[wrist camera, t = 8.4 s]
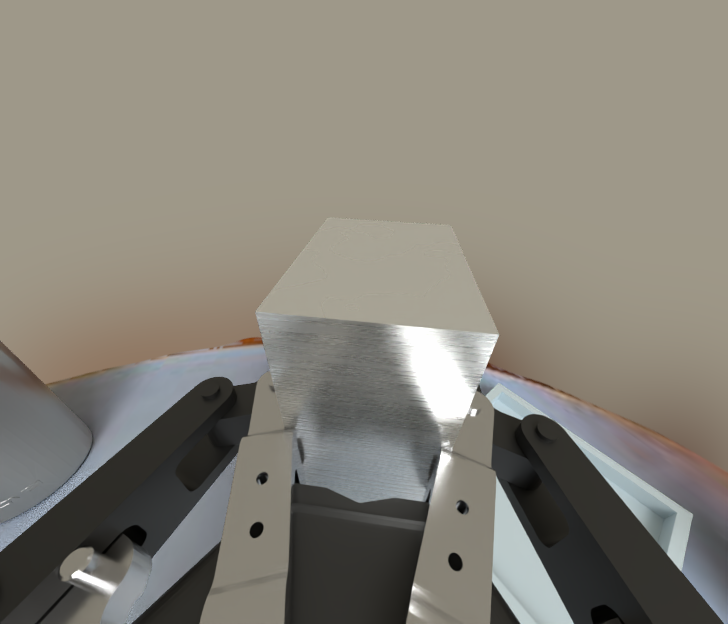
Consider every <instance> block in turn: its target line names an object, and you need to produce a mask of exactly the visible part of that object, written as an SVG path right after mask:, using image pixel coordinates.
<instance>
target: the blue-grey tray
mask: <svg viewBox="0 0 728 624" xmlns="http://www.w3.org/2000/svg"><path fill="white" fill-rule="evenodd" d="M486 397H487V398H488V399H489V400H490V402H491V403H492V405H493V407H494V408H495V409H497V410H498V411H500V412H502V413H505V414H507V415H510V416H513V417H515V418H518V419H520V420H522V419H523V418H524V417H525V416H527V415H530V414H539V415H543V416H546V417H548V416H547V415H545V414H544V413H542V412H541V411H539V410H538V409H537V408H535V407H534V406H532V405H531V404H529V403H528V402H526V401H525V400H523V399H522V398H520V397H519V396H517V395H516V394H514V393H513V392H511V391H510V390H508V389H507V388H506V387H504V386H503V385H501V384H500V383H498V384H497V385H496V386H495V387H494V388H493V389H492V390H491V391H490V392H489V393H488V394H487V395H486ZM548 418H550V417H548ZM550 419H551V418H550ZM552 420H553V419H552ZM555 422H556V421H555ZM558 424H559V423H558ZM559 425H560V424H559ZM560 426H561V427H562V428H563V429H564V430H565V431H566V432H567V433H568V435H569V436H570V437H571V438H572V439H573V441H574V442H575V443H576V444H577V445H578V447H579V448H580V449H581V450H582V452H583V453H584V454H585V455H586V456H587V458H588V459H589V460H590V461H591V463H592V464H593V465H594V466H595V467H596V469H597V470H598V471H599V472H600V473H601V475H602V476H603V477H604V478H605V480H606V481H607V482H608V483H609V484H610V486H611V487H612V488H613V489H614V490H615V492H616V493H617V494H618V495H619V497H620V498H621V499H622V500H623V501H624V503H625V504H626V505H627V506H628V508H629V509H630V510H631V511H632V512H633V514H634V515H635V516H636V517H637V518H638V520H639V521H640V522H641V523H642V525H643V526H644V527H645V528H646V529H647V531H648V532H649V533H650V534H651V535H652V537H653V538H654V539H655V540H656V542H657V543H658V544H659V545H660V546H661V548H662V549H663V550H664V551H665V553H666V554H667V555H668V556H669V557H670V559H671V560H672V561H673V562H674V563H675V565H676V566H677V567H678V568H679V570H680V571H682V566H683V561H684V556H685V551H686V546H687V541H688V537H689V532H690V527H691V522H692V517H693V514H692V513H690V512H689V511H687V510H686V509H684V508H683V507H681V506H680V505H678V504H677V503H675V502H674V501H672V500H671V499H669V498H668V497H666V496H665V495H664V494H662V493H661V492H659V491H658V490H656V489H655V488H653V487H652V486H650V485H649V484H647V483H646V482H644V481H643V480H641V479H640V478H638V477H637V476H635V475H634V474H633V473H631V472H630V471H628V470H627V469H625V468H624V467H622V466H621V465H619V464H618V463H616V462H615V461H613V460H612V459H610V458H609V457H607V456H606V455H604V454H603V453H601V452H600V451H599V450H597V449H596V448H594V447H593V446H591V445H590V444H588V443H587V442H585V441H584V440H582V439H581V438H579V437H578V436H576V435H575V434H573V433H572V432H570V431H569V430H568V429H566V428H565V427H563V426H562V425H560ZM492 582H493V583H494V585H495V586H496V588H497V589H498V591H499V592H500V594H501V595H502V597H503V598H504V600H505V601H506V603H507V604H508V606H509V607H510V609H511V610H512V612H513V613H514V615H515V616H516V618H517V619H518V621H519V622H520V624H574V623H573V621H572V619H571V617H570V615H569V614H568V612H567V610H566V608H565V606H564V604H563V602H562V600H561V598H560V596H559V595H558V593H557V591H556V589H555V587H554V585H553V583H552V581H551V579H550V577H549V576H548V574H547V572H546V570H545V568H544V566H543V564H542V562H541V560H540V558H539V557H538V555H537V553H536V551H535V549H534V547H533V545H532V543H531V541H530V539H529V538H528V536H527V534H526V532H525V530H524V528H523V526H522V524H521V522H520V521H519V519H518V517H517V515H516V513H515V511H514V509H513V507H512V505H511V503H510V502H509V500H508V498H507V496H506V494H505V492H504V490H503V488H502V486H501V484H500V483H499V481H498V479H497V477H496V499H495V522H494V545H493V568H492Z"/></svg>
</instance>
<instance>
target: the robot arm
mask: <svg viewBox="0 0 728 624" xmlns="http://www.w3.org/2000/svg"><path fill="white" fill-rule="evenodd" d="M91 444H92V433H91V431H90V429H89V427H88V426H87V425H86V424H85V423H84V422H83V421H82V420H81V419H79V418H78V417H77V416H76V415H75V414H74V413H73V412H72V411H71V410H70V409H69V408H68V407H67V406H66V405H65V404H64V403H63V402H62V401H61V400H60V399H59V398H58V397H57V396H56V395H55V394H54V393H53V392H52V391H51V390H50V389H49V388H48V387H47V386H46V385H45V384H44V383H43V382H42V381H41V380H40V379H39V378H38V377H37V376H36V375H35V374H34V373H33V372H32V371H31V370H30V369H29V368H28V367H27V366H26V365H25V364H24V363H23V362H22V361H21V360H20V359H19V358H18V357H17V356H15V355H14V354H13V353H12V352H11V351H10V350H9V349H8V348H7V347H6V346H5V345H4V344H3V343H2V342H1V341H0V523H3V522H5V521H7V520H9V519H12V518H14V517H16V516H18V515H20V514H22V513H23V512H25V511H27V510H29V509H30V508H32V507H34V506H36V505H37V504H38V503H40V502H41V501H43V500H44V499H45V498H47V497H48V496H50V495H51V494H52V493H53V492H55V491H56V490H57V489H58V488H59V487H60V486H62V485H63V484H64V483H65V482H66V481H67V480H68V479H69V478H70V477H71V476H72V475H73V474H74V473H75V472H76V470H77V469H78V468H79V466H80V465H81V464H82V462H83V461H84V460H85V458H86V456H87V454H88V452H89V450H90V447H91ZM237 453H238V456H237V461H236V466H235V472H234V477H233V482H232V487H231V493H230V498H229V503H228V508H227V514H226V519H225V524H224V529H223V534H222V540H221V541H220V542H219V543H218V544H217V545H216V546H215V547H214V548H213V549H212V550H211V551H210V552H208V553H207V554H206V555H205V556H204V557H203V558H202V559H201V560H200V561H199V562H198V563H197V564H196V565H194V566H193V567H192V568H191V569H190V570H189V571H188V572H187V573H186V574H185V575H184V576H183V577H181V578H180V579H179V580H178V581H177V582H176V583H175V584H174V585H173V586H172V587H171V588H170V589H169V590H167V591H166V592H165V593H164V594H163V595H162V596H161V597H160V598H159V599H158V600H157V601H156V602H155V603H153V604H152V605H151V606H150V607H149V608H148V609H147V610H146V611H145V612H144V613H143V614H142V615H140V616H139V617H138V618H137V619H136V620H135V621H134V622H133V623H132V624H520V622H519V621H518V619H517V618H516V616H515V615H514V613H513V612H512V610H511V609H510V607H509V606H508V604H507V603H506V601H505V600H504V598H503V597H502V595H501V594H500V592H499V591H498V589H497V588H496V586H495V585H494V583H493V582H492V568H493V545H494V522H495V499H496V477H497V479H498V481H499V483H500V484H501V486H502V488H503V490H504V492H505V494H506V496H507V498H508V500H509V502H510V503H511V505H512V507H513V509H514V511H515V513H516V515H517V517H518V519H519V521H520V522H521V524H522V526H523V528H524V530H525V532H526V534H527V536H528V538H529V539H530V541H531V543H532V545H533V547H534V549H535V551H536V553H537V555H538V557H539V558H540V560H541V562H542V564H543V566H544V568H545V570H546V572H547V574H548V576H549V577H550V579H551V581H552V583H553V585H554V587H555V589H556V591H557V593H558V595H559V596H560V598H561V600H562V602H563V604H564V606H565V608H566V610H567V612H568V614H569V615H570V617H571V619H572V621H573V623H574V624H724V623H723V622H722V621H721V619H720V618H719V617H718V616H717V615H716V613H715V612H714V611H713V610H712V608H711V607H710V606H709V605H708V604H707V602H706V601H705V600H704V599H703V598H702V596H701V595H700V594H699V593H698V591H697V590H696V589H695V588H694V587H693V585H692V584H691V583H690V582H689V580H688V579H687V578H686V577H685V576H684V574H683V573H682V572H681V571H680V570H679V568H678V567H677V566H676V565H675V563H674V562H673V561H672V560H671V559H670V557H669V556H668V555H667V554H666V553H665V551H664V550H663V549H662V548H661V546H660V545H659V544H658V543H657V542H656V540H655V539H654V538H653V537H652V535H651V534H650V533H649V532H648V531H647V529H646V528H645V527H644V526H643V525H642V523H641V522H640V521H639V520H638V518H637V517H636V516H635V515H634V514H633V512H632V511H631V510H630V509H629V508H628V506H627V505H626V504H625V503H624V501H623V500H622V499H621V498H620V497H619V495H618V494H617V493H616V492H615V490H614V489H613V488H612V487H611V486H610V484H609V483H608V482H607V481H606V480H605V478H604V477H603V476H602V475H601V473H600V472H599V471H598V470H597V469H596V467H595V466H594V465H593V464H592V463H591V461H590V460H589V459H588V458H587V456H586V455H585V454H584V453H583V452H582V450H581V449H580V448H579V447H578V445H577V444H576V443H575V442H574V441H573V439H572V438H571V437H570V436H569V435H568V433H567V432H566V431H565V430H564V429H563V428H562V427H561V426H560V425H559V424H558V423H557V422H555V421H554V420H552V419H550V418H548V417H546V416H543V415H539V414H530V415H527V416H525V417H524V418H523V419H522V420H520V419H518V418H515V417H513V416H510V415H507V414H505V413H502V412H500V411H498V410H497V409H495V408H494V407H493V405H492V403H491V402H490V400H489V399H488V398H487V397H486V396H484V395H483V394H482V393H481V389H480V386H479V385H478V387H477V390H476V392H475V395H474V397H473V400H472V402H471V405H470V407H469V409H468V412H467V414H466V417H465V419H464V422H463V424H462V427H461V429H460V431H459V434H458V436H457V439H456V441H455V444H454V446H453V448H448V447H443V446H441V448H440V451H439V453H438V456H437V460H436V463H435V467H434V469H433V472H432V475H431V478H430V480H429V481H428V484H427V487H426V490H425V493H424V497H423V500H422V501H415V500H408V499H401V498H389V499H383V500H376V501H370V502H363V503H359V502H356V501H354V500H352V499H349V498H347V497H345V496H343V495H341V494H339V493H337V492H335V491H333V490H330V489H328V488H326V487H319V486H312V485H306V481H305V471H304V466H303V464H302V462H301V457H300V453H299V448H298V438H297V433H296V428H295V427H284V424H283V420H282V416H281V412H280V408H279V404H278V400H277V396H276V392H275V388H274V384H273V380H272V376H271V372H270V371H268V372H267V373H265V374H264V375H262V376H261V377H260V379H259V380H258V382H255V383H250V384H244V385H238V386H233V384H232V382H231V381H230V380H229V379H227V378H224V377H214V378H210V379H207V380H205V381H203V382H201V383H199V384H198V385H197V386H196V387H194V388H193V389H192V390H191V391H190V392H188V393H187V394H186V395H185V396H184V397H183V398H181V399H180V400H179V401H178V402H177V403H176V404H174V405H173V406H172V407H171V408H170V409H168V410H167V411H166V412H165V413H164V414H163V415H161V416H160V417H159V418H158V419H157V420H155V421H154V422H153V423H152V424H151V425H150V426H148V427H147V428H146V429H145V430H144V431H142V432H141V433H140V434H139V435H138V436H137V437H135V438H134V439H133V440H132V441H131V442H130V443H128V444H127V445H126V446H125V447H124V448H122V449H121V450H120V451H119V452H118V453H117V454H115V455H114V456H113V457H112V458H111V459H109V460H108V461H107V462H106V463H105V464H104V465H102V466H101V467H100V468H99V469H98V470H96V471H95V472H94V473H93V474H92V475H91V476H89V477H88V478H87V479H86V480H85V481H84V482H82V483H81V484H80V485H79V486H78V487H76V488H75V489H74V490H73V491H72V492H71V493H69V494H68V495H67V496H66V497H65V498H63V499H62V500H61V501H60V502H59V503H58V504H56V505H55V506H54V507H53V508H52V509H50V510H49V511H48V512H47V513H46V514H45V515H43V516H42V517H41V518H40V519H39V520H38V521H36V522H35V523H34V524H33V525H32V526H30V527H29V528H28V529H27V530H26V531H25V532H23V533H22V534H21V535H20V536H19V537H17V538H16V539H15V540H14V541H13V542H12V543H10V544H9V545H8V546H7V547H6V548H4V549H3V550H2V551H1V552H0V624H126V621H127V618H128V616H129V613H130V611H131V609H132V607H133V605H134V603H135V602H136V601H137V600H138V599H139V598H140V597H141V596H142V594H143V592H144V591H145V588H146V585H147V581H148V579H149V576H150V573H151V568H152V560H151V559H152V557H153V556H154V555H155V554H156V552H157V551H158V550H159V549H160V548H161V546H162V545H163V544H164V543H165V541H166V540H167V539H168V538H169V537H170V535H171V534H172V533H173V532H174V530H175V529H176V528H177V527H178V525H179V524H180V523H181V522H182V521H183V519H184V518H185V517H186V516H187V514H188V513H189V512H190V511H191V510H192V508H193V507H194V506H195V505H196V503H197V502H198V501H199V500H200V499H201V497H202V496H203V495H204V494H205V492H206V491H207V490H208V489H209V488H210V486H211V485H212V484H213V483H214V481H215V480H216V479H217V478H218V476H219V475H220V474H221V473H222V472H223V470H224V469H225V468H226V467H227V465H228V464H229V463H230V462H231V461H232V459H233V458H234V457H235V456H236V454H237Z"/></svg>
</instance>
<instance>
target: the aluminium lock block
mask: <svg viewBox="0 0 728 624" xmlns="http://www.w3.org/2000/svg"><path fill="white" fill-rule="evenodd" d="M255 313H256V317H257V321H258V324H259V329H260V333H261V337H262V341H263V345H264V349H265V353H266V356H267V360H268V364H269V368H270V372H271V376H272V380H273V384H274V388H275V392H276V396H277V400H278V404H279V408H280V412H281V416H282V420H283V424H284V427H295V428H296V433H297V438H298V448H299V453H300V457H301V462H302V464H303V466H304V471H305V481H306V485H312V486H319V487H326V488H328V489H330V490H333V491H335V492H337V493H339V494H341V495H343V496H345V497H347V498H349V499H352V500H354V501H356V502H359V503H363V502H370V501H376V500H383V499H389V498H401V499H408V500H415V501H422V500H423V497H424V493H425V490H426V487H427V484H428V481H429V480H430V478H431V475H432V472H433V469H434V467H435V463H436V460H437V456H438V453H439V451H440V448H441V446H443V447H448V448H453V446H454V444H455V441H456V439H457V436H458V434H459V431H460V429H461V427H462V424H463V422H464V419H465V417H466V414H467V412H468V409H469V407H470V405H471V402H472V400H473V397H474V395H475V392H476V390H477V387H478V385H479V383H480V380H481V378H482V375H483V373H484V370H485V368H486V365H487V363H488V360H489V358H490V356H491V353H492V351H493V348H494V346H495V343H496V341H497V338H498V336H499V333H498V331H497V329H496V326H495V324H494V322H493V319H492V317H491V315H490V313H489V311H488V308H487V306H486V304H485V302H484V299H483V297H482V295H481V292H480V290H479V288H478V286H477V283H476V281H475V279H474V277H473V274H472V272H471V270H470V267H469V265H468V263H467V260H466V258H465V256H464V254H463V251H462V249H461V247H460V245H459V242H458V240H457V238H456V235H455V233H454V231H453V229H452V227H451V225H441V224H425V223H408V222H393V221H377V220H361V219H346V218H330V217H329V218H327V219H326V221H325V222H324V223H323V225H322V226H321V227H320V229H319V230H318V231H317V232H316V234H315V235H314V236H313V238H312V239H311V240H310V241H309V243H308V244H307V245H306V247H305V248H304V249H303V251H302V252H301V253H300V254H299V256H298V257H297V258H296V259H295V261H294V262H293V263H292V265H291V266H290V267H289V269H288V270H287V271H286V273H285V274H284V275H283V276H282V278H281V279H280V280H279V281H278V283H277V284H276V285H275V287H274V288H273V289H272V291H271V292H270V293H269V294H268V296H267V297H266V298H265V300H264V301H263V302H262V304H261V305H260V306H259V308H258V309H257V310H256V311H255Z"/></svg>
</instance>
